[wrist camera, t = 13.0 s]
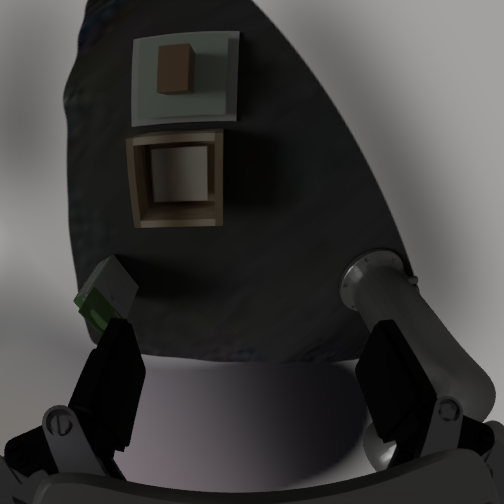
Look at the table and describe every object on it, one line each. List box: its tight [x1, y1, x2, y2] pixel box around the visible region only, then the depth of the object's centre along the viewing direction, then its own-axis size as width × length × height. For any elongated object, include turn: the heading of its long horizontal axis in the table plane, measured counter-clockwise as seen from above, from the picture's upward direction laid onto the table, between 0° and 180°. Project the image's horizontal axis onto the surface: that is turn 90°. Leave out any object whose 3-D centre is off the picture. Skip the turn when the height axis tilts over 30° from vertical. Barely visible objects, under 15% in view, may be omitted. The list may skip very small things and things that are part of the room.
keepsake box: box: [126, 129, 224, 228], centre depth 30 cm, size 10×10×7 cm
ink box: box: [74, 254, 139, 335], centre depth 34 cm, size 7×4×13 cm, turn 25°
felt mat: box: [132, 31, 240, 127], centre depth 27 cm, size 13×12×1 cm
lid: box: [137, 33, 229, 120], centre depth 24 cm, size 10×10×7 cm
